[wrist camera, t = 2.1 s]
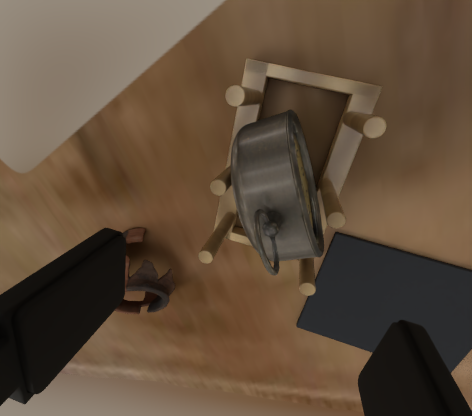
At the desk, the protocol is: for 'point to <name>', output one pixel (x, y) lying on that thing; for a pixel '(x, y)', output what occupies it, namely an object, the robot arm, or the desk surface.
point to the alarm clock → (276, 190)
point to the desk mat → (389, 297)
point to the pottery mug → (145, 282)
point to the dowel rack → (337, 163)
